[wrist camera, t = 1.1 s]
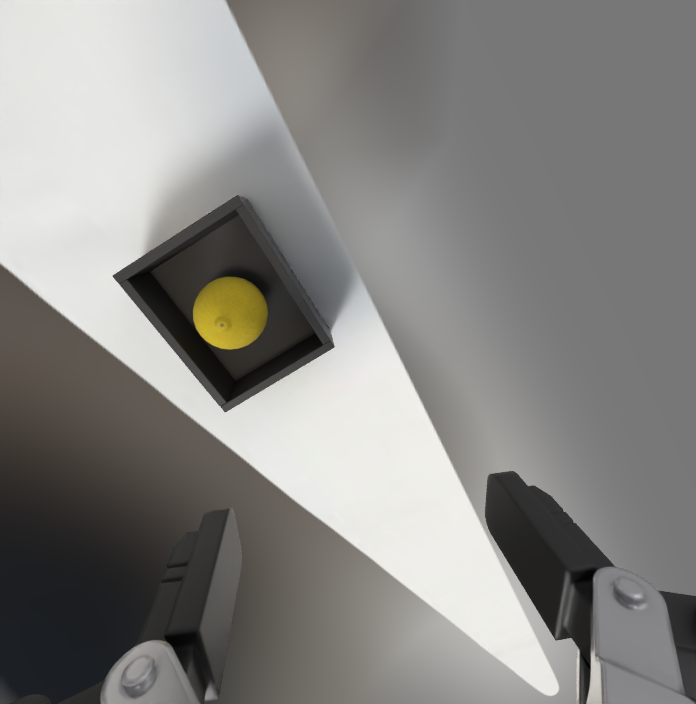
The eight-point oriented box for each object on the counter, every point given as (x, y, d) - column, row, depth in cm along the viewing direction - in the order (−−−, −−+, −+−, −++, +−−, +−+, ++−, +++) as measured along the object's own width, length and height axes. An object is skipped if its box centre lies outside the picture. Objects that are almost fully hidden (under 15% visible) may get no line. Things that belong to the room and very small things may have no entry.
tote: (139, 268, 32) (111, 275, 27) (247, 199, 31) (237, 195, 26) (234, 389, 36) (224, 412, 32) (330, 331, 35) (335, 347, 31)
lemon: (281, 319, 34) (275, 346, 27) (225, 341, 34) (203, 374, 27) (255, 261, 32) (241, 273, 25) (195, 284, 32) (163, 303, 25)
